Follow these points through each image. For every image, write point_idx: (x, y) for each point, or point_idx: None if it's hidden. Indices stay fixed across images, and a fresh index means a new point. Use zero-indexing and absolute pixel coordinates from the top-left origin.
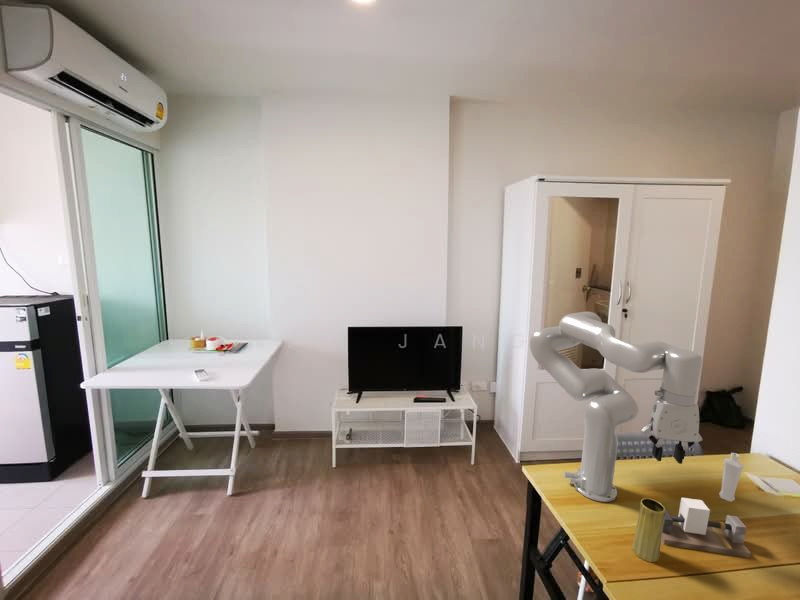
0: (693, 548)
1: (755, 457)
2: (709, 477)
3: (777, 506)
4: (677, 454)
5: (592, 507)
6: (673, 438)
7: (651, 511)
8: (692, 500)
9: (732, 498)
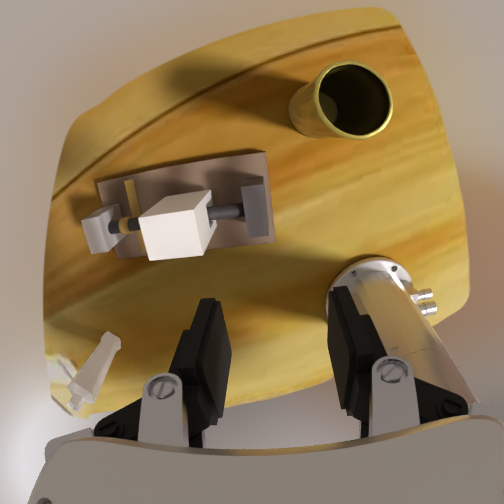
0: (200, 160)
1: (82, 414)
2: (131, 380)
3: (56, 331)
4: (219, 353)
5: (395, 232)
6: (317, 473)
7: (367, 65)
8: (174, 250)
9: (103, 336)
